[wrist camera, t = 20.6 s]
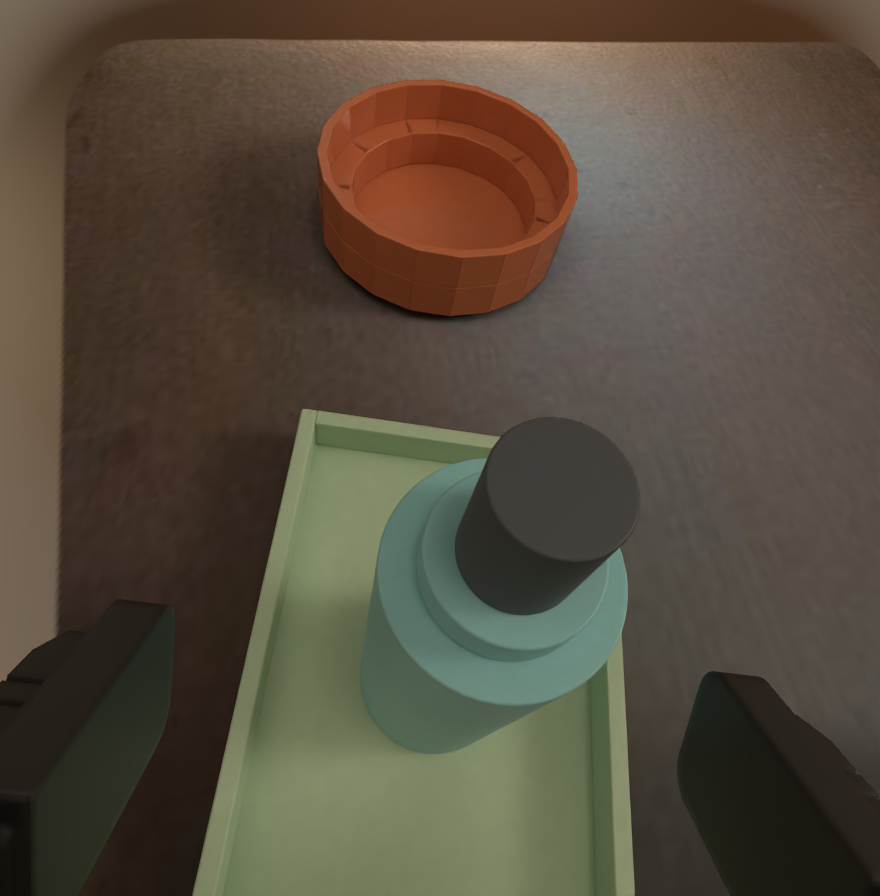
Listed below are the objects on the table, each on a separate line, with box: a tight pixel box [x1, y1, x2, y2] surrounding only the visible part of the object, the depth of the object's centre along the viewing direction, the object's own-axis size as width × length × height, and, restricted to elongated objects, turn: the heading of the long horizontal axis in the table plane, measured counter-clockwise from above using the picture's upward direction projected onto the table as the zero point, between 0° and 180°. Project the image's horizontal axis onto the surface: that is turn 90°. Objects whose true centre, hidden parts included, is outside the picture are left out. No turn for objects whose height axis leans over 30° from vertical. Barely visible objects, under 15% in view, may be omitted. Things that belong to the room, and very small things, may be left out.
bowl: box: [317, 80, 578, 316], centre depth 38 cm, size 14×14×5 cm
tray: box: [192, 409, 635, 896], centre depth 26 cm, size 14×20×3 cm
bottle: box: [360, 417, 640, 754], centre depth 19 cm, size 6×6×18 cm
